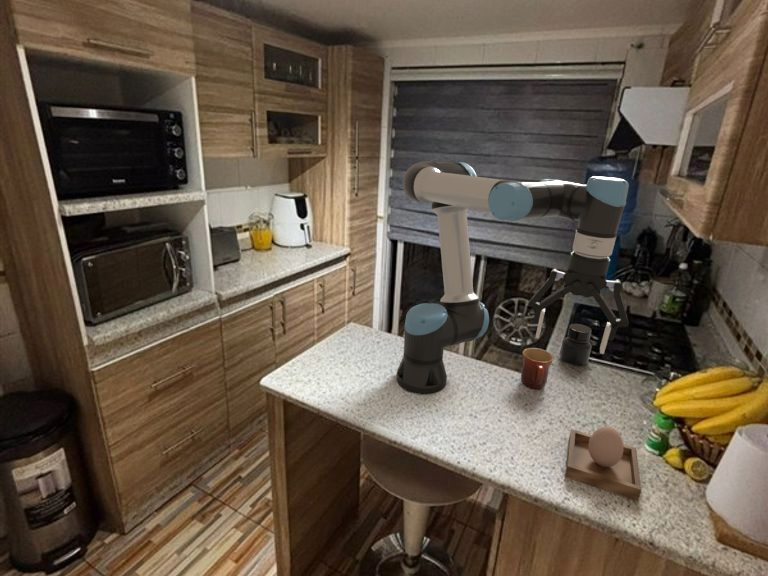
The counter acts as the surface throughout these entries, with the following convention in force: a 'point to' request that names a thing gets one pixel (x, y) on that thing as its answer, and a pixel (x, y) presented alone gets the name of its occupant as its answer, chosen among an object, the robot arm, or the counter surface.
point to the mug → (535, 368)
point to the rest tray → (603, 468)
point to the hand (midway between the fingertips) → (568, 343)
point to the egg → (606, 446)
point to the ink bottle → (576, 345)
